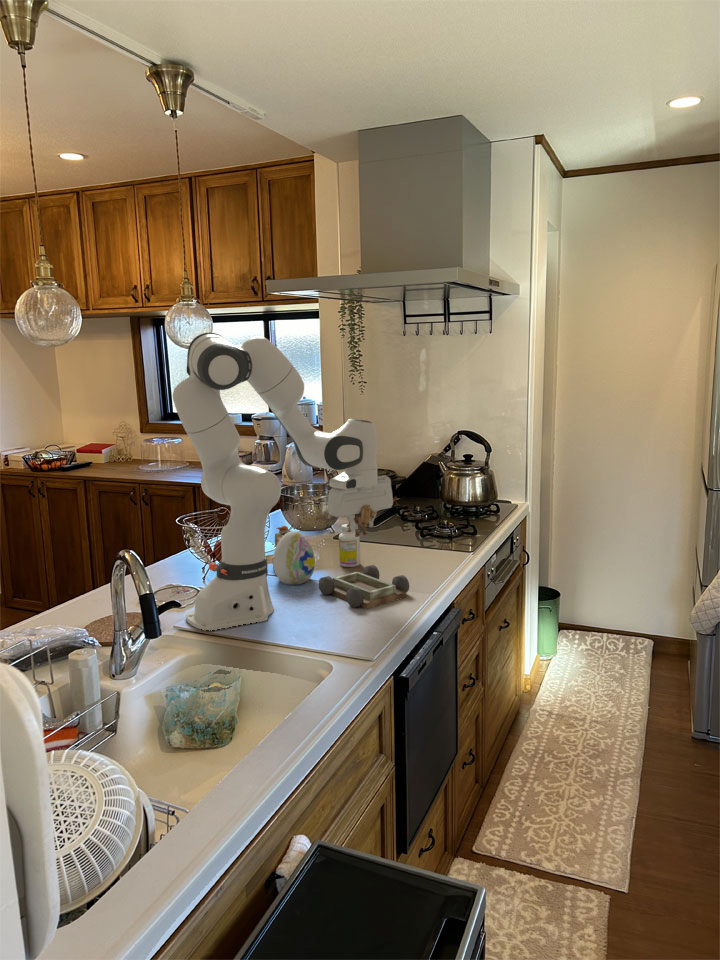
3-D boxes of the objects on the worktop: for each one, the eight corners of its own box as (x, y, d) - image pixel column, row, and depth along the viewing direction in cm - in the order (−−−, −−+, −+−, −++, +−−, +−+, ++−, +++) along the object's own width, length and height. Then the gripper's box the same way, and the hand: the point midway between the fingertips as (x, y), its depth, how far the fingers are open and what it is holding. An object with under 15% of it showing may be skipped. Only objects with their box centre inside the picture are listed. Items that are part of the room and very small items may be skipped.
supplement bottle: (347, 560, 233) (346, 522, 231) (364, 563, 230) (363, 524, 227) (335, 565, 228) (334, 526, 226) (352, 569, 224) (351, 528, 222)
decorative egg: (299, 589, 206) (297, 538, 203) (265, 583, 212) (263, 533, 210) (323, 577, 216) (321, 529, 213) (290, 572, 222) (288, 524, 220)
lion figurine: (378, 537, 196) (378, 505, 194) (361, 539, 194) (360, 507, 192) (354, 527, 209) (354, 496, 207) (337, 529, 206) (337, 498, 205)
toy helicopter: (276, 574, 220) (274, 530, 218) (265, 556, 240) (263, 516, 238) (302, 571, 223) (300, 528, 220) (289, 554, 242) (288, 514, 240)
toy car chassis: (360, 610, 188) (359, 592, 187) (316, 591, 203) (316, 574, 202) (411, 595, 199) (411, 578, 198) (366, 578, 214) (366, 562, 213)
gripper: (383, 473, 204) (383, 520, 207) (324, 481, 192) (325, 531, 194) (397, 475, 199) (397, 524, 202) (338, 484, 187) (339, 536, 189)
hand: (361, 528), depth 198 cm, fingers closed on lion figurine, 4 cm apart
